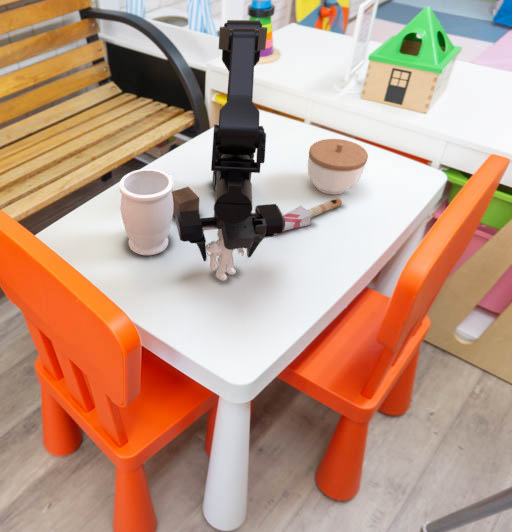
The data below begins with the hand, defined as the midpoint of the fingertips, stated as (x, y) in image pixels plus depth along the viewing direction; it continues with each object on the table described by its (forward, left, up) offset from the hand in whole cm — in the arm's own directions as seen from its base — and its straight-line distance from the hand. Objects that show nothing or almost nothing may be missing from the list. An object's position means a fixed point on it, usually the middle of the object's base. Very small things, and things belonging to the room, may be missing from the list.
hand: (226, 258), depth 100 cm
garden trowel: (-21, -15, -4) cm, 26 cm away
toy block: (+5, -21, -4) cm, 22 cm away
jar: (+14, -11, -4) cm, 18 cm away
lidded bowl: (-31, -27, -4) cm, 41 cm away
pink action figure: (0, 0, -4) cm, 4 cm away
